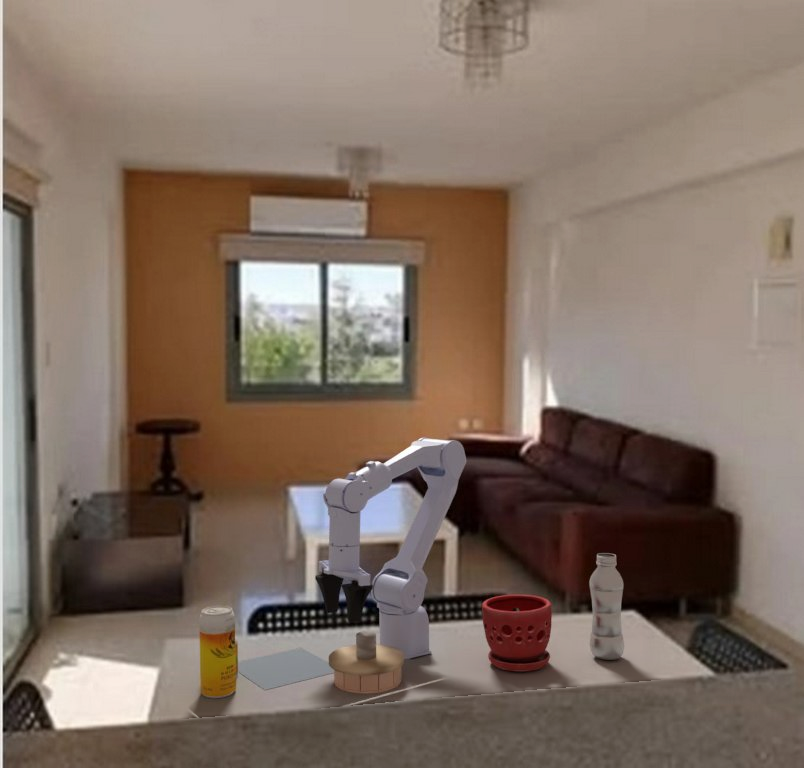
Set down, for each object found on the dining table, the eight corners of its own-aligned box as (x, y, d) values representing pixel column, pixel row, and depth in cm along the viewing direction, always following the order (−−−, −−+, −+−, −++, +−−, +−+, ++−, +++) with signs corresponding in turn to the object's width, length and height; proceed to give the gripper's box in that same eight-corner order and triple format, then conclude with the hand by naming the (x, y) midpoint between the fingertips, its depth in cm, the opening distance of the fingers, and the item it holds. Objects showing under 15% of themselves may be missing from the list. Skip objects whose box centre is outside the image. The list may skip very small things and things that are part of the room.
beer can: (228, 702, 155) (226, 615, 155) (195, 700, 156) (193, 614, 156) (241, 689, 161) (239, 605, 161) (209, 686, 162) (207, 604, 162)
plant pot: (548, 652, 179) (548, 592, 178) (555, 677, 165) (555, 612, 165) (481, 651, 179) (481, 591, 179) (483, 676, 166) (482, 611, 166)
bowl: (377, 667, 172) (376, 646, 172) (414, 686, 162) (413, 664, 162) (322, 681, 165) (321, 659, 165) (357, 701, 155) (357, 679, 155)
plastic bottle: (605, 666, 171) (605, 560, 170) (582, 655, 177) (582, 553, 176) (631, 660, 174) (631, 556, 173) (608, 649, 180) (608, 549, 179)
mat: (301, 649, 182) (300, 647, 182) (342, 672, 169) (342, 670, 169) (227, 666, 173) (226, 664, 173) (265, 692, 160) (265, 689, 160)
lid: (380, 644, 173) (379, 618, 173) (418, 665, 161) (418, 637, 161) (315, 658, 166) (315, 631, 166) (351, 680, 154) (350, 652, 154)
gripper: (305, 539, 172) (304, 611, 172) (347, 552, 160) (346, 629, 160) (337, 536, 176) (335, 606, 176) (380, 549, 164) (378, 623, 165)
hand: (342, 616), depth 169 cm, fingers open, 7 cm apart
